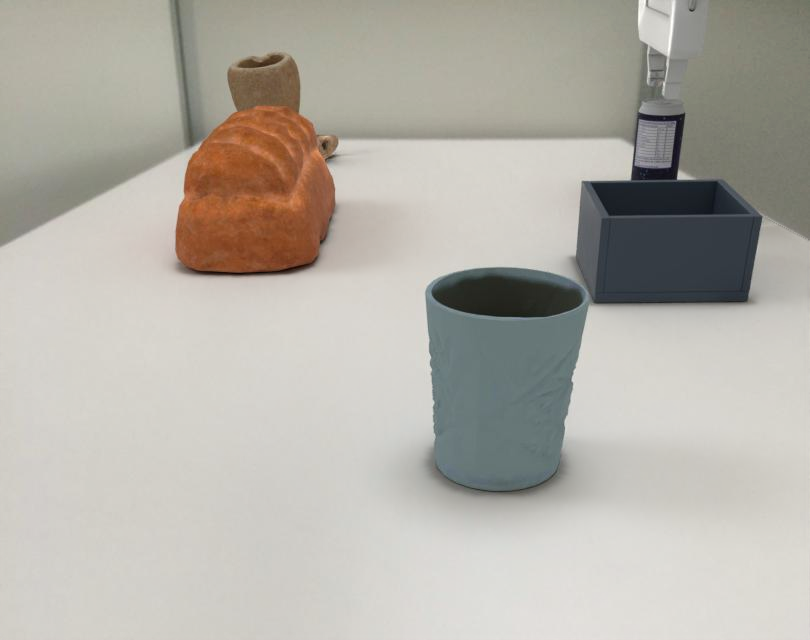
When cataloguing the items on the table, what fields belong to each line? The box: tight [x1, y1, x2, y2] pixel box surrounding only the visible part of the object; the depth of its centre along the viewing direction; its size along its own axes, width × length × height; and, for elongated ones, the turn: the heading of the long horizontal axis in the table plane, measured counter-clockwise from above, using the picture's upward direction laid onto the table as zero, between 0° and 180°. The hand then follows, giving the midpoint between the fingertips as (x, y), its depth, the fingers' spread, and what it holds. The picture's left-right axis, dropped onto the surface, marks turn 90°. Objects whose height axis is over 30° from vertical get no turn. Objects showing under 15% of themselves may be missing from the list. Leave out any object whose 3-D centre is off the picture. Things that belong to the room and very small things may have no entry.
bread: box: [174, 106, 336, 274], centre depth 112 cm, size 16×31×13 cm, turn 178°
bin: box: [575, 178, 763, 304], centre depth 97 cm, size 15×15×8 cm
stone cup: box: [226, 51, 340, 161], centre depth 145 cm, size 15×12×15 cm
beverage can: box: [630, 97, 686, 180], centre depth 120 cm, size 6×6×12 cm
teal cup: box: [424, 266, 591, 492], centre depth 63 cm, size 10×10×12 cm
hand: (662, 92), depth 117 cm, fingers open, 8 cm apart
